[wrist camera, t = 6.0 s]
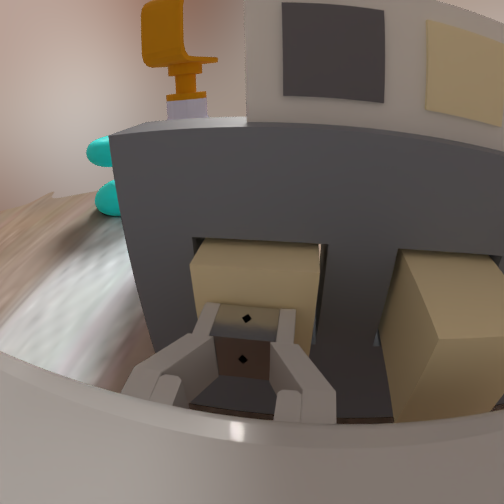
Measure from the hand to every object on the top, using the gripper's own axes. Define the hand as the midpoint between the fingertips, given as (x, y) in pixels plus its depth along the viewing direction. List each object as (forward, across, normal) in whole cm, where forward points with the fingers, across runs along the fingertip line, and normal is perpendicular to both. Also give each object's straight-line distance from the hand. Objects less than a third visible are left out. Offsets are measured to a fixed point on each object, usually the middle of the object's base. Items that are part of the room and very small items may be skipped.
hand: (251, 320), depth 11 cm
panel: (+3, -7, +8) cm, 11 cm away
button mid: (+1, -7, +2) cm, 7 cm away
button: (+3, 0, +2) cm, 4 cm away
